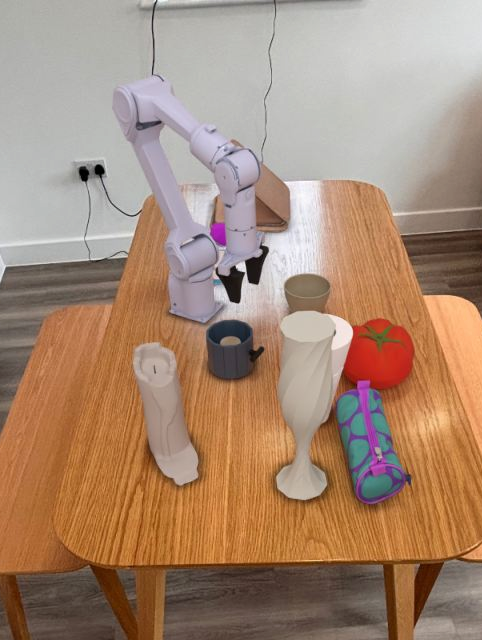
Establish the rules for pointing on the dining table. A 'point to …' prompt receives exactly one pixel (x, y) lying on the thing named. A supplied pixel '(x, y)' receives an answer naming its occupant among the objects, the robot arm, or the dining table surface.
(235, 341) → the peg
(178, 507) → the dining table surface
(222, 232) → the crystal
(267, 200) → the case
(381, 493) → the pencil case
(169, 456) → the candle
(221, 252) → the smartphone
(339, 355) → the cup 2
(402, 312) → the dining table surface
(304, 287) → the flower pot
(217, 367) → the blue cylindrical container
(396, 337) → the tomato
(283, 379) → the vase
